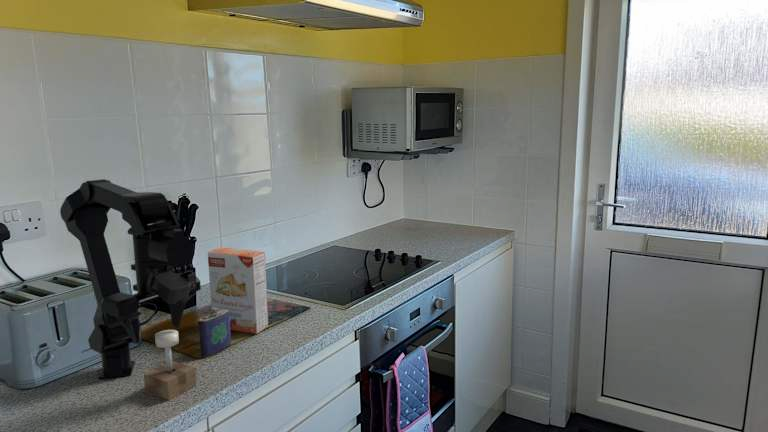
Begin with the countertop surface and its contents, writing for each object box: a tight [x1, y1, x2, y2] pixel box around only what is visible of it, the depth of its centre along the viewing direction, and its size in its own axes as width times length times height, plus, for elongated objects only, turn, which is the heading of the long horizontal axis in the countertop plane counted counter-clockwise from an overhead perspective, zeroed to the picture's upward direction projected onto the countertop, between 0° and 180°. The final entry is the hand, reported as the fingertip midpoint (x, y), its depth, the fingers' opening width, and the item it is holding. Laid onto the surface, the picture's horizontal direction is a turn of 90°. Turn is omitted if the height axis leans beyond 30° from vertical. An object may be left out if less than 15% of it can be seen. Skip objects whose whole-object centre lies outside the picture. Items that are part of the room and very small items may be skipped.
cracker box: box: [207, 247, 269, 335], centre depth 145 cm, size 14×6×21 cm, turn 68°
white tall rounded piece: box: [154, 329, 180, 373], centre depth 113 cm, size 4×4×8 cm
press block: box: [143, 360, 197, 401], centre depth 114 cm, size 7×7×4 cm
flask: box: [197, 307, 232, 359], centre depth 132 cm, size 9×3×11 cm, turn 152°
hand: (157, 335), depth 110 cm, fingers open, 9 cm apart
